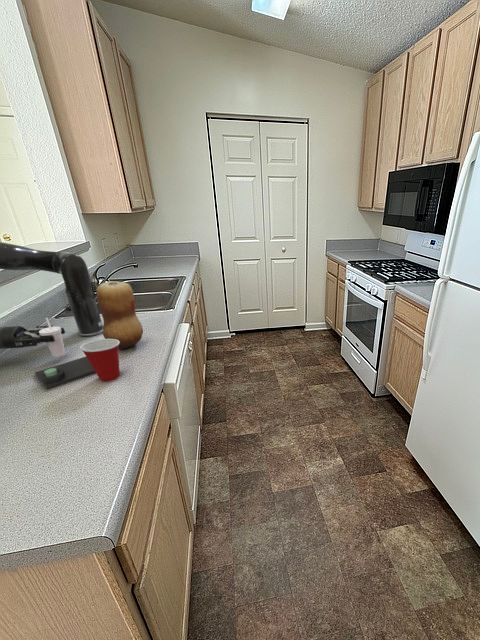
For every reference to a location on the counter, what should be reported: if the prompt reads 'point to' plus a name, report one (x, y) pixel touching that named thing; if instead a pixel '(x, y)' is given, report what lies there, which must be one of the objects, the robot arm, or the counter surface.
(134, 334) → the butternut squash
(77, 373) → the scale
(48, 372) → the button
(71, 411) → the counter surface
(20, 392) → the counter surface
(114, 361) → the plastic cup
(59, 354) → the smoothie
